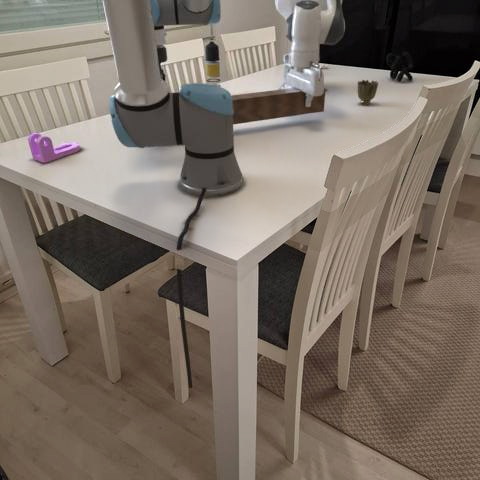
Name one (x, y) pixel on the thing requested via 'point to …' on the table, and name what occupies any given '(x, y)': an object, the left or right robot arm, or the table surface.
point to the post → (273, 105)
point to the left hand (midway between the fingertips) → (161, 130)
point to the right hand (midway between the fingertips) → (302, 103)
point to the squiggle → (399, 66)
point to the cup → (366, 91)
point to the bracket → (49, 148)
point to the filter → (212, 59)
